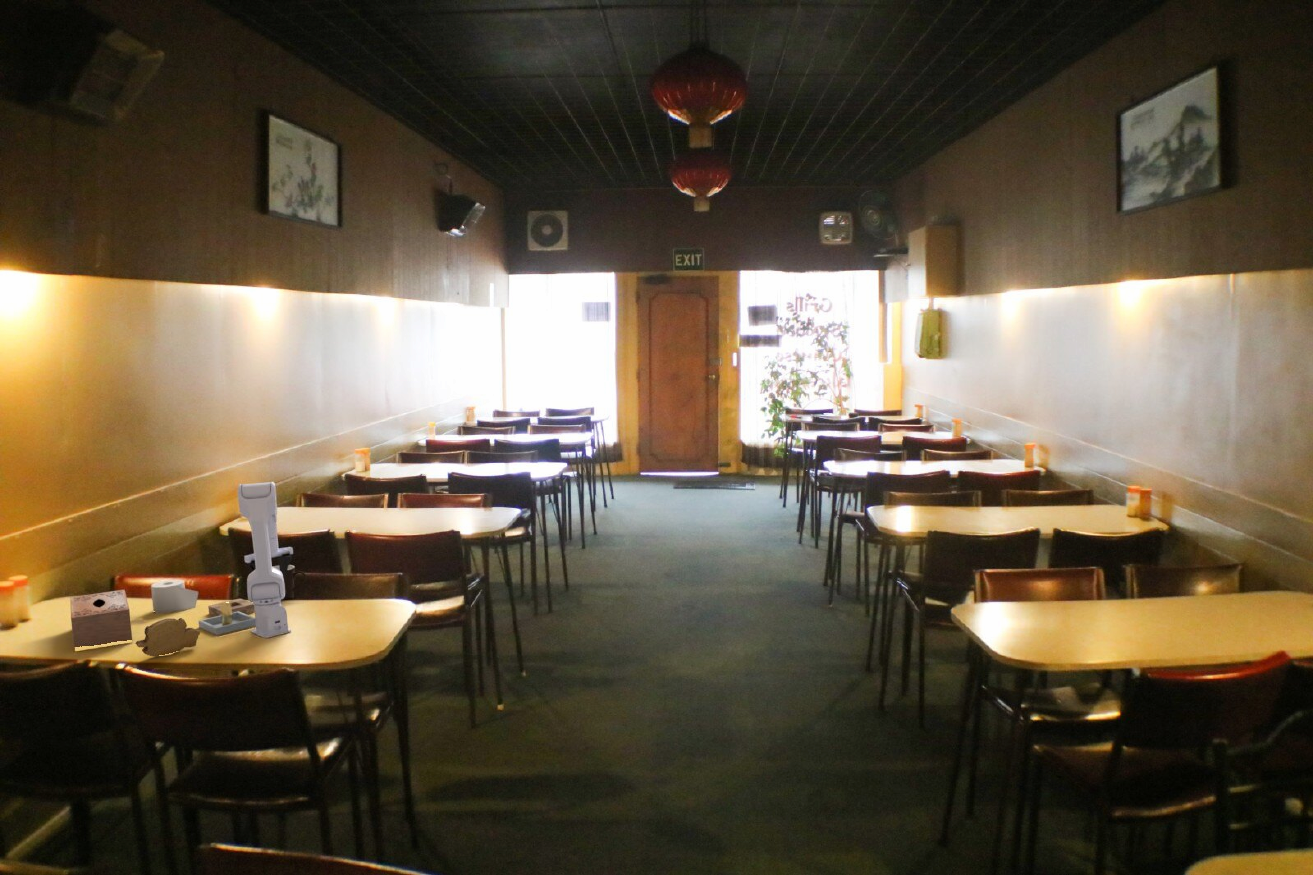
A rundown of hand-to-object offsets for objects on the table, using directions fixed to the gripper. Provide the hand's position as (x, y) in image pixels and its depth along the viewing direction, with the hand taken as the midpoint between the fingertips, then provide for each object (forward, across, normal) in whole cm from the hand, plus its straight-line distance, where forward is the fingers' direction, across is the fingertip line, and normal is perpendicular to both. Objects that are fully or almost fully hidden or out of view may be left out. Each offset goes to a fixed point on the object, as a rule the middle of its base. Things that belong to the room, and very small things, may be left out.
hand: (271, 581), depth 322 cm
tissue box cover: (+10, +43, -19) cm, 48 cm away
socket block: (+10, +9, -9) cm, 16 cm away
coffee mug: (+10, -10, -12) cm, 19 cm away
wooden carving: (+10, +37, +15) cm, 41 cm away
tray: (+10, +16, +4) cm, 19 cm away
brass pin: (+9, +16, +4) cm, 19 cm away
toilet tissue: (+10, +18, -29) cm, 36 cm away
